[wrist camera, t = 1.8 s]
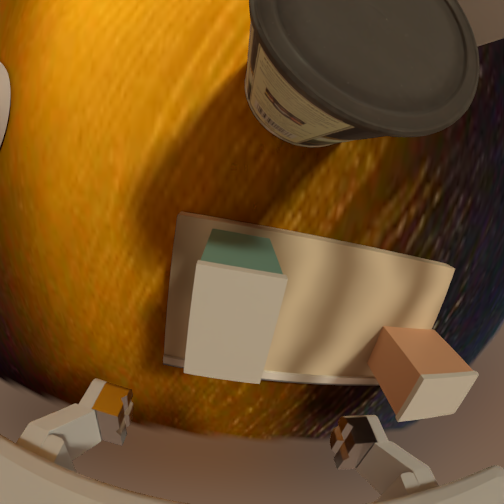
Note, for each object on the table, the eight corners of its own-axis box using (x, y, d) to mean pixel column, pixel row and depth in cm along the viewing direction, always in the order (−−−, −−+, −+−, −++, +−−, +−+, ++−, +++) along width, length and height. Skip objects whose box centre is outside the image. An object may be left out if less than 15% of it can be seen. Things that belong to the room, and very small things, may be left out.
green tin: (199, 308, 25) (183, 372, 17) (211, 226, 23) (196, 263, 15) (254, 317, 25) (261, 384, 17) (272, 237, 23) (289, 279, 15)
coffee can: (378, 59, 21) (482, 1, 7) (349, 165, 23) (461, 179, 10) (264, 17, 19) (288, -95, 6) (227, 124, 22) (209, 76, 9)
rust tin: (382, 324, 26) (424, 379, 18) (434, 328, 27) (478, 374, 19) (365, 364, 27) (397, 422, 19) (417, 365, 28) (453, 414, 20)
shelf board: (166, 354, 28) (162, 365, 26) (181, 211, 24) (176, 215, 22) (399, 376, 30) (405, 385, 29) (446, 263, 26) (456, 269, 25)
